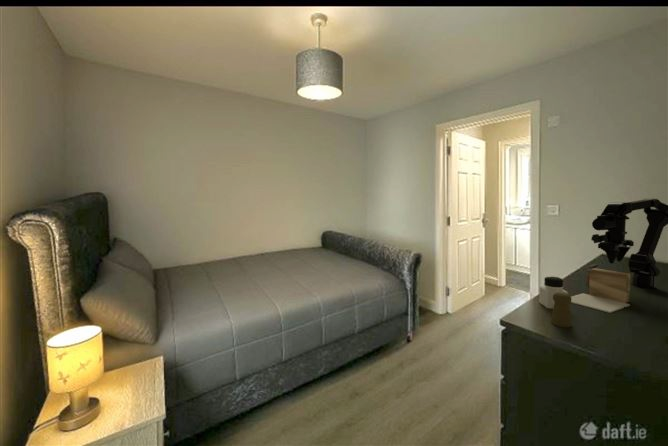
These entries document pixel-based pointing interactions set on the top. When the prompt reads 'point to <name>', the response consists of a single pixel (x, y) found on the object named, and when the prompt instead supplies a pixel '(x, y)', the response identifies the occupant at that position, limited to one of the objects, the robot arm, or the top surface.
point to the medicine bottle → (550, 291)
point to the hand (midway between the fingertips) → (615, 262)
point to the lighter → (589, 272)
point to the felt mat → (597, 303)
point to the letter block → (609, 285)
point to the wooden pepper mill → (561, 310)
